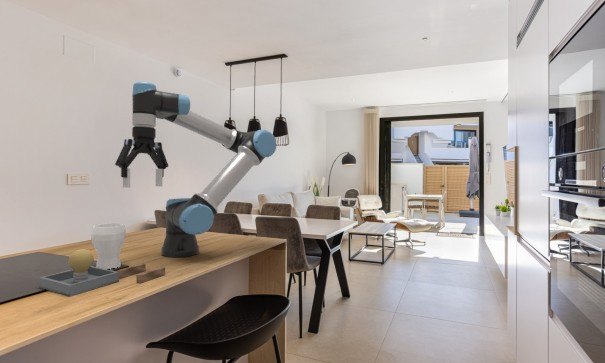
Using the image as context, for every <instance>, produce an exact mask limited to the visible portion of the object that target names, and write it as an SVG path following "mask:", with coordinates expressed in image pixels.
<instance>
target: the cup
mask: <svg viewBox="0 0 605 363" xmlns="http://www.w3.org/2000/svg"><path fill="white" fill-rule="evenodd" d="M126 236H127V235H126V228H125V225H124V223H120V222H110V223H109V222H107V223H99V224H94V225H93V226H92V229H91V233H90V237H91V238H90V239H91V243H92V246H93V247H94V249H95V250H96V255H97V260H96V265H95V267H98V268H103V269H110V270H112V269H111V268H115V269H118V268H120V267H121V266H122V265H121V264H122V263H121V258H120V257H121V256H120V253H121V248H122V247H123V245H124V243H125V241H126ZM117 267H118V268H117Z"/></svg>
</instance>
